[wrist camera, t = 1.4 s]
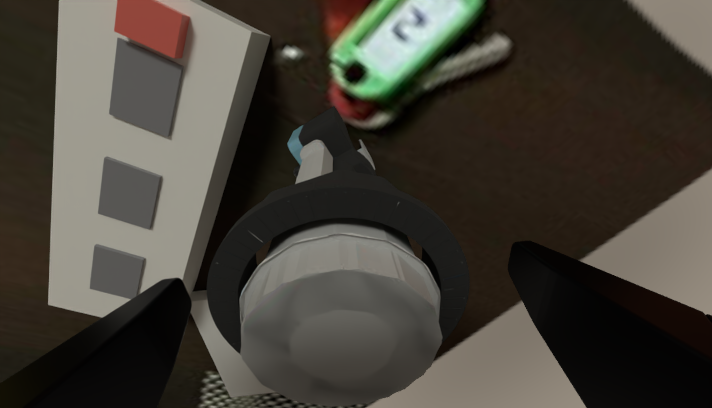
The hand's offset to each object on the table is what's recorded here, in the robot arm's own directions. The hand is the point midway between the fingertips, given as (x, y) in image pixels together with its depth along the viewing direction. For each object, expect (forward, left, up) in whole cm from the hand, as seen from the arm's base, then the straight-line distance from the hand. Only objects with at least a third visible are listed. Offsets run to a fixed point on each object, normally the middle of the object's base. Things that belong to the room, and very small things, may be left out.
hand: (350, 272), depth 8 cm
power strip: (-8, +1, -7) cm, 11 cm away
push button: (0, 0, -7) cm, 7 cm away
